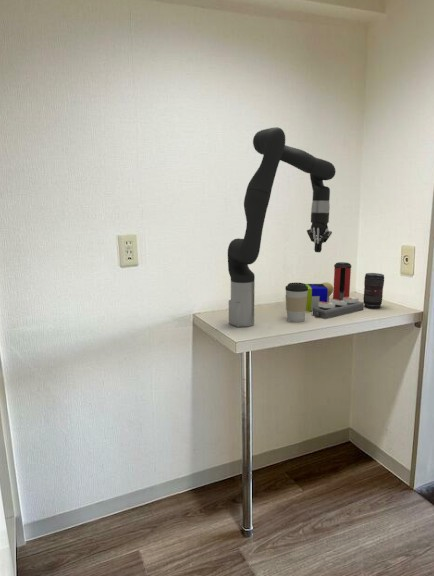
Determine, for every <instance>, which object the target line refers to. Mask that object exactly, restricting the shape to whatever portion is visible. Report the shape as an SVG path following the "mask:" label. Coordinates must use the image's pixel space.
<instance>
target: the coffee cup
mask: <svg viewBox="0 0 434 576" xmlns="http://www.w3.org/2000/svg"><path fill="white" fill-rule="evenodd" d="M306 284H307V283H303V282H289V283H288V284H287V285H285V287H284V290H285V309H286V320H287V321H289V322H294V323H296V322H297V323H298V322H300V323H302V322H304V321H305V318H306V311H305V310H306V304H307V292H308V287H307V286H306Z"/></svg>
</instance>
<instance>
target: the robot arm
mask: <svg viewBox="0 0 434 576" xmlns="http://www.w3.org/2000/svg"><path fill="white" fill-rule="evenodd" d="M252 145H253V149H254V150H255V152H256V153H258V154H260V155H261V156H262V159H261V163H260V164H259V167H258V168H257V170H256V172H255V173H254V174H253V176H252V177H251V179H250V180H249V183H248V184H247V187H246V191H245V195H244V200H243V208H244V214H245V215H244V216H245V220H246V226H245V227H246V228H245V233H244V236H243V238H235V239H232V240H231V241H230V243H228V247H227V267H228V268H227V269H228V273H229V278H230V299H229V300H228V324H229V325H232V326H234V327H237V328H240V327H242V328H243V327H251V326H253V325H255V288H256V287H255V273H254V272H253V271H252V270H251V269H250V267H249V265H252V264H254V263H255V262H256V261H257V260H258V257H259V255H260V249H261V243H262V235H263V231H264V230H263V229H264V224H265V219H266V214H267V210H268V207H269V203H270V199H271V195H272V189H273V185H274V181H275V177H276V174H277V171H278V167H279V164H280V161H282V162H283V163H286V164H288V165H290V166H293V167H294V168H296V169H298V170H299V171H301V172H304V173H307V174H309V179H310V183H311V188H312V202H311V208H310V211H311V212H310V223H311V224H310V228H309V229H306V232H307V236H308V238H309V239H310V242H313V243H314V247H313V249H314V252H315V253H321V251H322V248H323V247H322V246H323V244H324V243H327V241H328V240H329V238H330V237H331V235H332V234H333V232H332V231H330V230H329V226H328V223H330V209H331V208H330V206H331V205H330V200H331V199H330V196H331V189H330V187H328V186H325V185H324V181H330V180H332V179H333V178H334V177H335V175H336V172H337V171H336V167H335V165H334V164H333V163H332V162H330V161H328V160H326V159H325V160H324V159H322V158H318V157H316V156H314V155H312V154H311V153H309V152H306V151H305V150H302V149H299V148H298V147H297V148H296V147H292V146H289V145H286V133H285V132H284V130H283V129H282V128H280V127H269V128H265V129H261V130H259V131H257V132H256V133H255V134H254V136H253V139H252Z"/></svg>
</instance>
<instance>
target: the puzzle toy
mask: <svg viewBox="0 0 434 576" xmlns="http://www.w3.org/2000/svg"><path fill="white" fill-rule="evenodd" d="M305 284H306V286H307V287H308V292H307V304H306V310H305V312H313V308H314V307H318V305H319V302H320V301H321V302H327V293H328V288H327V287H325V286H324V285H323V284H322V283H305Z"/></svg>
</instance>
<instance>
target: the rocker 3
mask: <svg viewBox="0 0 434 576" xmlns="http://www.w3.org/2000/svg"><path fill="white" fill-rule="evenodd" d="M343 301H345V302H347V303H358V301H359V298H357V297H355V296H349V297H343Z"/></svg>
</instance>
